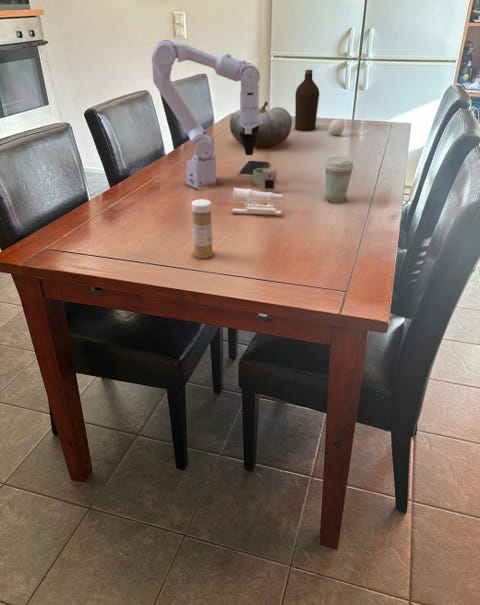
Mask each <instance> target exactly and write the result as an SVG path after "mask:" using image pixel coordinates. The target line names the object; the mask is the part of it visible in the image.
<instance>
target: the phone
mask: <svg viewBox="0 0 480 605" xmlns="http://www.w3.org/2000/svg"><path fill="white" fill-rule="evenodd" d="M269 165H270V162H269V161H257V160H249V161H247V163H246V164H245V165H244V166H243V167H242V168H241V169H240V170H239V175H250V176H253V171H254V170H255V169H258V168H268V167H269Z"/></svg>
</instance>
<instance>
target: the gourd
mask: <svg viewBox="0 0 480 605" xmlns="http://www.w3.org/2000/svg"><path fill="white" fill-rule="evenodd" d="M268 104H269V102H268V101H265V102H264V104H263V105H262V106H261V107H260V108H259V121H262V122H263V124H262V125H260V127H259V129H258V131H257V133H258V135H257V137H256V140H255V146H254V148H255V147H261V148H265V149H266V148H268V149H269V148H272V147H276V146H277V145H280V144H281V143H283V142H285V140H286V139H288V137H289V135H290V134H291V131H292V126H293V119H292V116H291V114H290V113H289V111H288V110H287V109H285V108H284V107H280V106H275V107H273V108H271V109H268V110H267V109H266V107H267V106H268ZM240 122H241V114H240V109H239V110H236V111H234V113H233V114H232V115H231V117H230V122H229V129H230V133H231V135H232V136H233V138H234V139H235V140H236V141H237V142H238V143H239V144H240V145H242V146H244V144H243V141H242V139H241V137H240V132H244V131H243V129H242V126H241V125H240Z"/></svg>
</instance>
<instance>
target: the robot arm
mask: <svg viewBox="0 0 480 605" xmlns="http://www.w3.org/2000/svg"><path fill="white" fill-rule="evenodd" d="M176 59H177V63H182V62H185V61H190V62H194V63H196V64H199V65H203V66H205V67H208V68H212V69H214V72H215V74H216V75H217V76H220V77H223V78H226V79H228V80H231V81H234V82H240V91H239V99H240V100H239V103H240V104H239V105H240V108H239V110H240V114H241V122H240V125H241V126H242V129H243V131H244V132H240V137H241V139H242V141H243V144H244V145H243V150H244V153H245V156H253V154H254V149H255V140H256V137H257V135H258V133H257V131H258V129H259V127H260V125H262V124H263V122H262V121H259V109H260V91H259V87H260V86H259V82H260V80H261V76H260V72H259V69H258V68H257V67H256V66H255V65H254V64H253V63H251V62H247V61H246V60H244V59H243V60H239V59H236V58H233V57H232V54H231V53H226V54H222V53H221V55H218V56H215V55H212V54H210V53H208V52H205V51H203V50H200V49H198V48H195V47H193V46H191V45H188V44H185V43H181V42H179V41H178V42H177V41H174V42H173V41H171V40H170V39H163V40H161V41H159V42H158V43H157V45H155V47H154V49H153V53H152V56H151V62H152V63H151V65H152V67H151V68H152V82H153V85H154V86H155V88H156V89H157V90H158V92H159V93H160V95H161V96H162V97H163V99H164V101H165V102H166V104H167V105H168V107H169V108H170V111H172V113H173V114H174V116H175V117H176V119H177V120H178V122H179V123H180V125H181V126H182V128H183V129H184V131H185V132H186V134H187V136H188V139H189V141H190V143H191V144H192V146H193V152H194V153H193V156H192V158H191V159H189V160H187V162H185V175H186V176H185V177H186V182H185V185H187V186H189V187H191V188H195V190H200V189H201V187H203V186H209V185H213V184H216V183H217V161H216V160H217V156H216V155H217V154H216V153H214V152H215V145H214V144H215V139H214V137H213V136H212V135H211V134H210V133H209V132H207V131H206V130H205V129H204V127H203V126H202V125H201V124H200V122H198V119H197V118H196V116H195V115H194V114H193V112H192V110H191V109H190V106H188V104H187V102H186V101H185V99H184V98H183V96H182V95H181V93H180V91H179V90H178V88H177V86H176V85H175V84H174V81H172V79H171V75H172V69H173V66H174V63H175V61H176Z"/></svg>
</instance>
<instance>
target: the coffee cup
mask: <svg viewBox="0 0 480 605" xmlns="http://www.w3.org/2000/svg"><path fill="white" fill-rule="evenodd" d="M323 166H324V169H325V171H324V172H325V173H324V175H325V198H326V199H327V201H328V202H329V203H334V204H340V203H344V202H346V198H347V194H348V189H349V186H350V180H351V178H352V173H353V170H354V168H355V167H354V163H353V160H352V159H351V158H348V157H341V156H334V157H329V158H327V159H326V161H325V163H324V165H323Z"/></svg>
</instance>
